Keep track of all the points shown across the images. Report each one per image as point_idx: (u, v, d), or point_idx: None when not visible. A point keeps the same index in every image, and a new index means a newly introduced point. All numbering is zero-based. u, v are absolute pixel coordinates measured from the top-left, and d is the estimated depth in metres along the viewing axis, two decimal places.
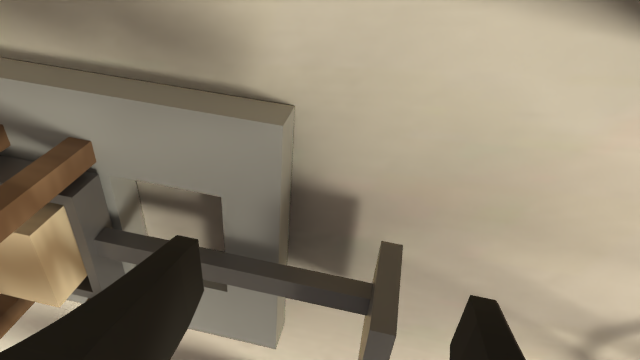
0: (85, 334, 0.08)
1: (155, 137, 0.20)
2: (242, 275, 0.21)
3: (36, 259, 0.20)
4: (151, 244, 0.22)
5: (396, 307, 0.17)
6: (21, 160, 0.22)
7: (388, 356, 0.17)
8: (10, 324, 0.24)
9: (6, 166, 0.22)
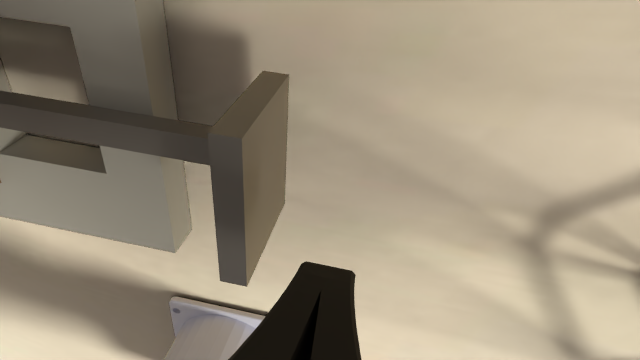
0: None
1: None
2: (97, 125, 0.17)
3: None
4: None
5: (255, 117, 0.13)
6: None
7: (241, 178, 0.13)
8: None
9: None
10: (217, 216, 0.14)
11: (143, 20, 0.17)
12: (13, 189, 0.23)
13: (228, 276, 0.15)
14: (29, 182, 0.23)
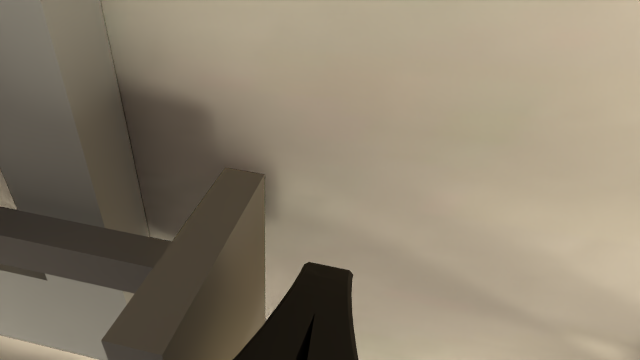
0: None
1: None
2: None
3: None
4: None
5: (196, 287, 0.08)
6: None
7: None
8: None
9: None
10: None
11: (77, 92, 0.11)
12: None
13: None
14: None
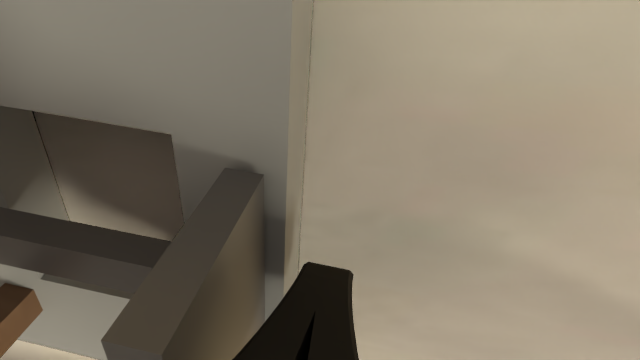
0: None
1: (27, 2, 0.10)
2: None
3: None
4: None
5: (195, 287, 0.08)
6: None
7: None
8: None
9: None
10: None
11: (292, 127, 0.10)
12: (59, 318, 0.17)
13: None
14: (82, 314, 0.16)
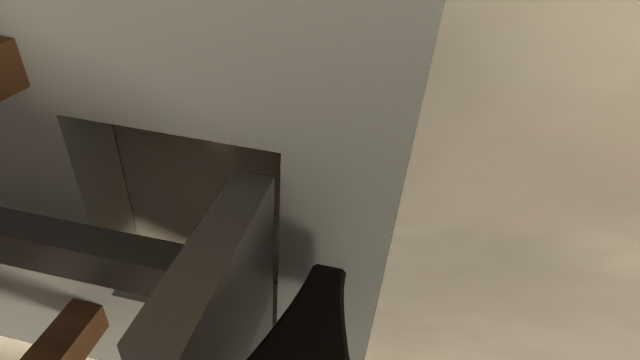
0: None
1: (146, 18, 0.09)
2: None
3: None
4: None
5: (210, 291, 0.08)
6: None
7: None
8: None
9: None
10: None
11: None
12: None
13: None
14: None
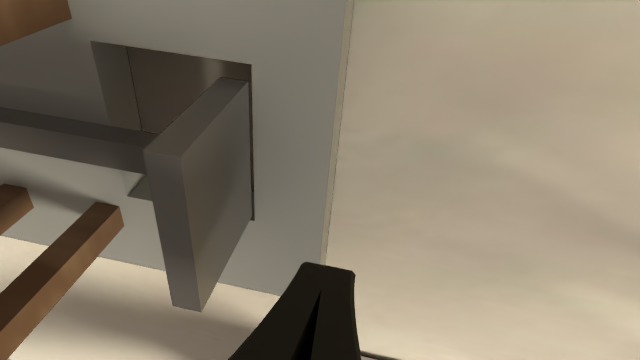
0: None
1: None
2: (45, 135, 0.16)
3: None
4: None
5: (200, 131, 0.12)
6: None
7: (183, 199, 0.12)
8: None
9: None
10: (162, 239, 0.13)
11: (342, 57, 0.14)
12: (136, 233, 0.21)
13: (180, 301, 0.14)
14: (157, 227, 0.20)
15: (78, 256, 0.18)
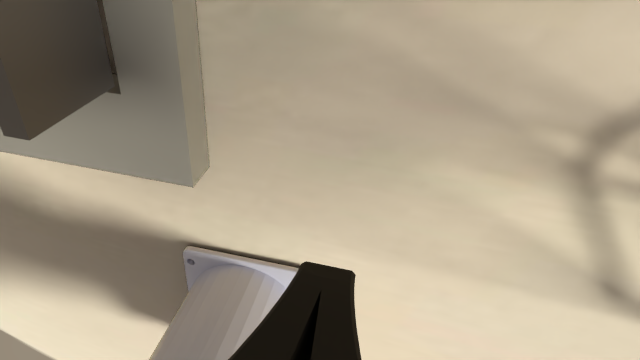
0: None
1: None
2: None
3: None
4: None
5: None
6: None
7: None
8: None
9: None
10: None
11: None
12: None
13: (9, 129, 0.15)
14: None
15: None
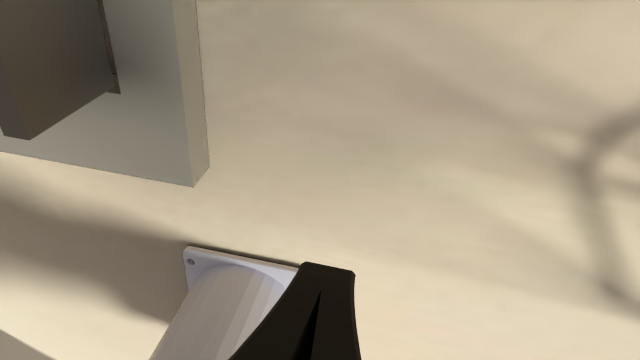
0: None
1: None
2: None
3: None
4: None
5: None
6: None
7: None
8: None
9: None
10: None
11: None
12: None
13: (9, 129, 0.15)
14: None
15: None
